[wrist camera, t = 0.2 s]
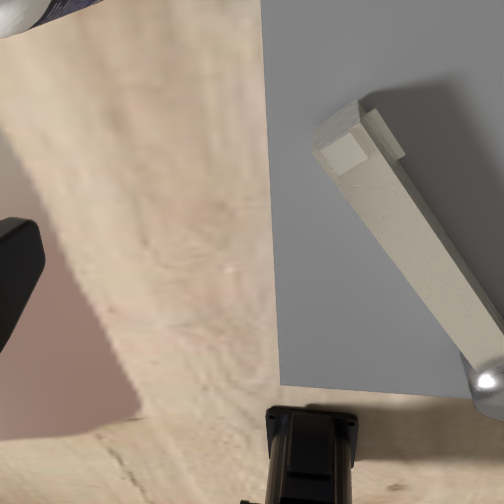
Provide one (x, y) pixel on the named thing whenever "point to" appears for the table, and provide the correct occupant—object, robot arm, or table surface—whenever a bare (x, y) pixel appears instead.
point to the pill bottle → (35, 13)
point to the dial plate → (413, 162)
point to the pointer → (416, 246)
